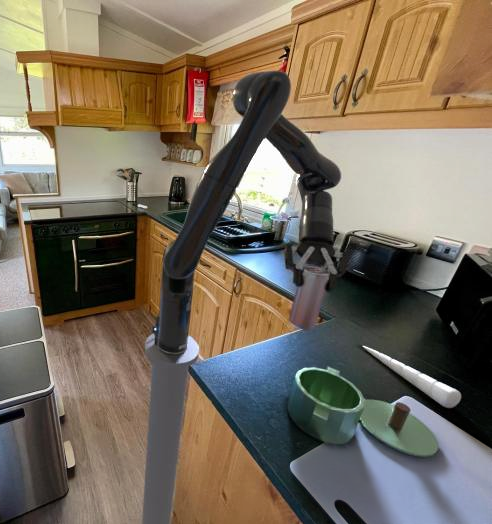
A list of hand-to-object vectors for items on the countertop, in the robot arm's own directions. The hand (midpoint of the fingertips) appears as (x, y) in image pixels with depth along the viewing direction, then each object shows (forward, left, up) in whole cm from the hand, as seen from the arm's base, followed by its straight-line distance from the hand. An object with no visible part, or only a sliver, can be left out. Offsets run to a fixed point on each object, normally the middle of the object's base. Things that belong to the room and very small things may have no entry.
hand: (313, 287), depth 68 cm
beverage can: (-1, +2, -11) cm, 11 cm away
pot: (+8, -10, -26) cm, 29 cm away
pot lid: (+21, -2, -25) cm, 33 cm away
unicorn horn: (+23, +21, -26) cm, 41 cm away
